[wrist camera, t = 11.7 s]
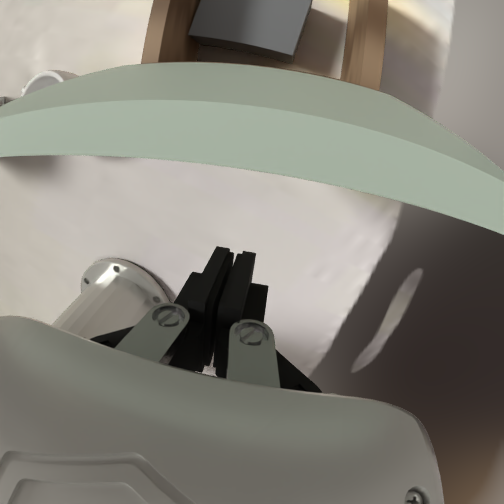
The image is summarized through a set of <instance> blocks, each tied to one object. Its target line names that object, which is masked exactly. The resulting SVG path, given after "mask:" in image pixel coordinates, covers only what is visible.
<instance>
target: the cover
mask: <svg viewBox="0 0 504 504" xmlns="http://www.w3.org/2000/svg"><path fill="white" fill-rule="evenodd" d="M34 155H89V156H116V157H134V158H148V159H161V160H172V161H182V162H192V163H201V164H209V165H217V166H225V167H232V168H239V169H246V170H253V171H259V172H266V173H272V174H278V175H283V176H289V177H294V178H300V179H305V180H310V181H315V182H320V183H325V184H330V185H335V186H339V187H344V188H348V189H353V190H357V191H361V192H365V193H370V194H374V195H378V196H382V197H386V198H389V199H393V200H397V201H401V202H404V203H408V204H412V205H415V206H419V207H422V208H426V209H429V210H433V211H436V212H439V213H442V214H445V215H449V216H452V217H455V218H458V219H461V220H464V221H467V222H470V223H473V224H476V225H479V226H482V227H484V228H487V229H490V230H493V231H495V232H498V233H501V234H503V235H504V171H503V170H501V169H500V168H499V167H498V166H497V165H496V164H494V163H493V162H492V161H491V160H490V159H488V158H487V157H486V156H485V155H483V154H482V153H481V152H479V151H478V150H477V149H475V148H474V147H473V146H471V145H470V144H469V143H467V142H466V141H465V140H463V139H462V138H460V137H459V136H458V135H456V134H455V133H453V132H452V131H450V130H449V129H447V128H446V127H444V126H443V125H441V124H440V123H438V122H437V121H435V120H433V119H432V118H430V117H429V116H427V115H425V114H424V113H422V112H420V111H418V110H417V109H415V108H413V107H411V106H410V105H408V104H406V103H404V102H402V101H401V100H399V99H397V98H395V97H393V96H391V95H389V94H386V93H383V92H380V91H376V90H373V89H370V88H366V87H363V86H359V85H355V84H352V83H348V82H344V81H340V80H336V79H331V78H327V77H322V76H317V75H312V74H307V73H302V72H296V71H290V70H284V69H277V68H269V67H261V66H252V65H241V64H227V63H203V62H173V63H150V64H136V65H126V66H120V67H115V68H111V69H106V70H102V71H98V72H94V73H90V74H87V75H83V76H79V77H76V78H73V79H69V80H66V81H63V82H60V83H57V84H54V85H51V86H48V87H45V88H43V89H40V90H37V91H35V92H32V93H30V94H27V95H25V96H22V97H20V98H18V99H15V100H13V101H11V102H9V103H6V104H4V105H2V106H0V157H9V156H34Z"/></svg>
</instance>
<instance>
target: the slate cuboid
mask: <svg viewBox="0 0 504 504" xmlns="http://www.w3.org/2000/svg"><path fill="white" fill-rule="evenodd" d="M311 5H312V0H201V2H200V4H199V7H198V9H197V12H196V14H195V17H194V20H193V22H192V25H191V28H190V31H189V33H188V35H189V36H190V37H191V38H193V39H194V40H195V41H197V42H198V43H199V44H202V45H209V46H215V47H221V48H227V49H232V50H237V51H242V52H247V53H251V54H256V55H260V56H264V57H268V58H272V59H276V60H279V61H283V62H287V63H290V64H292V62H293V59H294V56H295V53H296V50H297V47H298V44H299V41H300V38H301V35H302V32H303V30H304V27H305V24H306V21H307V18H308V15H309V12H310V9H311Z"/></svg>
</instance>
